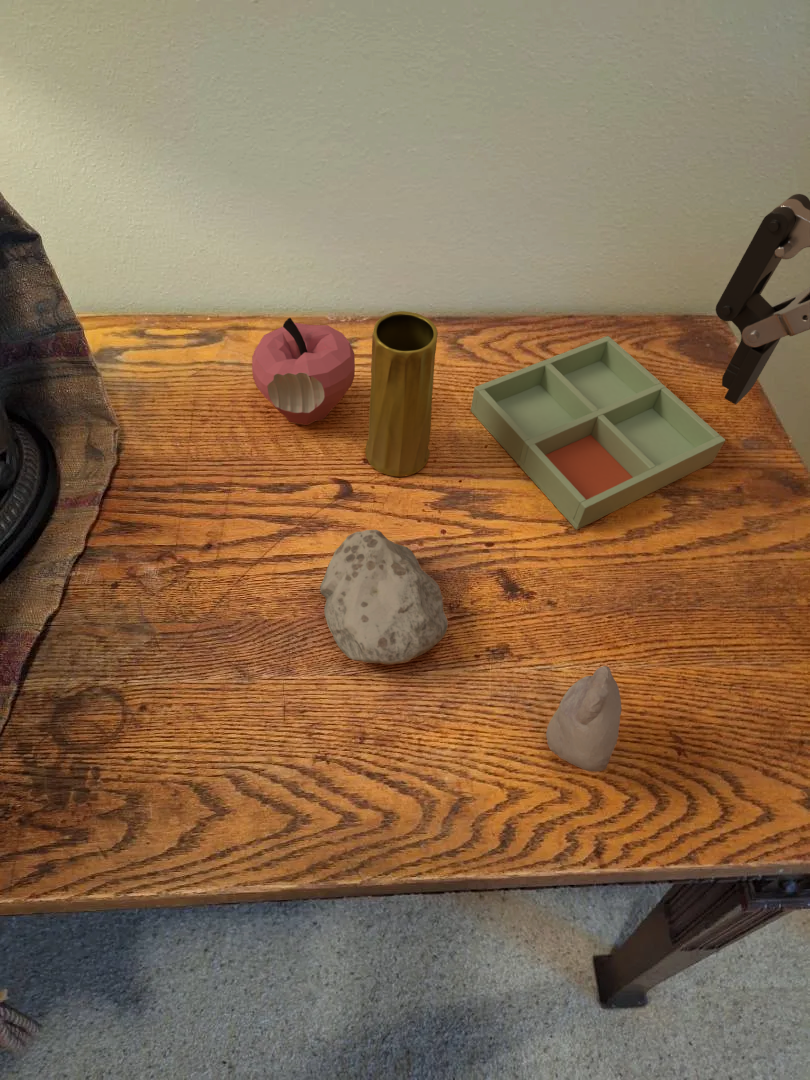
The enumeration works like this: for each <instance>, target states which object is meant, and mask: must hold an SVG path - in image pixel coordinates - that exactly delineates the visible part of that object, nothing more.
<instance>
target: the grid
mask: <svg viewBox="0 0 810 1080" xmlns="http://www.w3.org/2000/svg"><path fill="white" fill-rule="evenodd" d="M470 412H471V413H472V415H473V416H474V417H475V418H476V419H477V420H478V421H479V422H480V423H481V425H483V427H484V428H485V429H486V430H487V432H489V433H490V435H491V436H492V437H493V438H494V439H495V440H496V441H497V443H498V444H499V445H500V447H502V448H503V449H504V451H506V453H507V454H508V455H509V456H510V457H511V458H512V460H513V461H514V462H515V463H516V464H517V465H518V467H519V468H521V470H522V471H523V472H524V473H525V474H526V475H527V476H528V478H530V480H531V481H532V482H533V483H534V484H535V485H536V486H537V488H538V489H539V490H540V491H541V492H542V493H543V494H544V495H545V496H546V497H547V499H548V500H549V501H550V502H551V503H552V504H553V505H554V506H555V508H556V509H557V510H558V511H559V512H560V513H561V514H562V516H563V517H564V518H565V519H566V520H567V521H568V523H570V525H571V526H572V527H573V528H574V529H575V530H576V531H577V530H580V529H581V528H584V527H586V526H587V525H589V524H591V523H593V522H595V521H597V520H599V519H601V518H603V517H605V516H608V515H610V514H612V513H613V512H615V511H618V510H620V509H622V508H624V507H625V506H628V505H630V504H633V503H634V502H636V501H638V500H640V499H642V498H644V497H646V496H649V495H650V494H652V493H654V492H656V491H658V490H660V489H662V488H664V487H666V486H668V485H670V484H672V483H674V482H676V481H679V480H680V479H682V478H684V477H686V476H688V475H691V474H692V473H695V472H696V471H699V470H700V469H703V468H704V467H707V466H708V465H710V464H712V463H713V462H714V461H715V459H716V458H717V456H718V454H719V453H720V451H721V450H722V448H723V446H724V444H725V442H726V439H725V438H724V437H723V436H722V435H720V433H719V432H717V431H716V430H715V429H714V428H713V427H712V426H711V425H710V424H708V422H706V421H705V420H704V419H703V418H702V417H701V416H699V415H698V414H697V413H696V412H695V411H693V409H691V407H689V406H688V405H687V404H686V403H685V402H683V400H681V399H680V397H678V396H677V395H676V394H674V393H673V391H671V390H670V389H669V388H667V387H666V385H664V384H663V383H662V382H661V380H659V379H658V378H657V377H656V376H654V374H652V373H651V372H650V371H649V370H648V369H647V368H645V366H643V364H641V362H639V361H637V360H636V359H635V357H633V356H632V355H631V354H630V353H629V352H628V351H626V349H624V348H623V347H622V346H621V345H620V344H618V343H617V342H616V341H615V340H614V339H613V338H611V336H609V335H606V336H603V337H601V338H597V339H596V340H593V341H590V342H587V343H585V344H583V345H580V346H577V347H575V348H572V349H570V350H567V351H564V352H562V353H559V354H556V355H554V356H551V357H548V358H546V359H544V360H541V361H539V362H536V363H533V364H531V365H528V366H526V367H522V368H520V369H518V370H515V371H513V372H510V373H507V374H505V375H503V376H500V377H497V378H495V379H492V380H489V381H486V382H484V383H481V384H479V385H476V386H474V388H473V394H472V399H471V406H470Z"/></svg>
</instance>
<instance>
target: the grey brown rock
mask: <svg viewBox="0 0 810 1080" xmlns="http://www.w3.org/2000/svg"><path fill="white" fill-rule="evenodd" d="M622 710H623V709H622V699H621V692H620V688H619V685H618V683H617V680H616V679H615V678H614V676H613V674H612V671H611V669H610V667H609V666H606V665H603V666H600V667H598V668H597V669H596V670H595V671H594V673H593V675H586V676H583V677H582V678H580V679H578V680H577V681H575V682H574V683H573V684H572V685H571V686H570V687H569V688H568V689H567V691H566V692H565V694H563V697H562V698H561V700H560V702H559V705H558V708H557V709H556V711H555V712H554V713H553V715H552V717H551V719H550V720H549V722H548V724H547V726H546V731H545V732H546V733H545V737H546V743H547V746H548V749H549V750H550V751H551V752H553V754H554V755H556V756H558V758H559V759H561V760H564V762H565V761H566V762H567V763H569V764H570V765H573V766H575V767H577V768H580V769H582V770H584V771H587V772H593V773H594V772H595V773H597V772H602V771H603V772H604V771H605V770H607V768H608V766H609V763H610V760H611V757H612V755H613V753H614V750H615V748H616V745H617V744H618V739H619V734H620V733H619V732H620V724H621V716H622Z"/></svg>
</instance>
